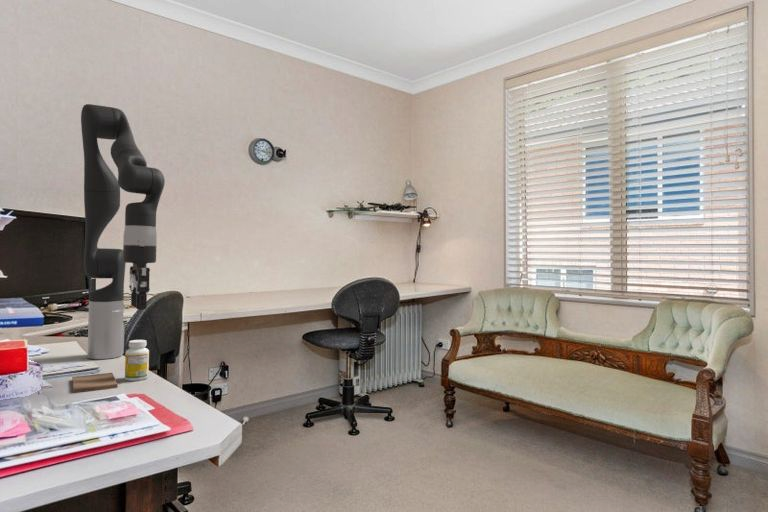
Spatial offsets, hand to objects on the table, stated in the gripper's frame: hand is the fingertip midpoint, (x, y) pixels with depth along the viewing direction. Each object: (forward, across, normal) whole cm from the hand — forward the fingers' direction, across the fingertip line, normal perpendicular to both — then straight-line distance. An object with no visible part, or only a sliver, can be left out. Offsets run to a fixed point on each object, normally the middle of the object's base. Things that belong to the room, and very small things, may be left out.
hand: (138, 307), depth 119 cm
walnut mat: (+18, 0, -9) cm, 20 cm away
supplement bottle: (+18, 0, 0) cm, 18 cm away
